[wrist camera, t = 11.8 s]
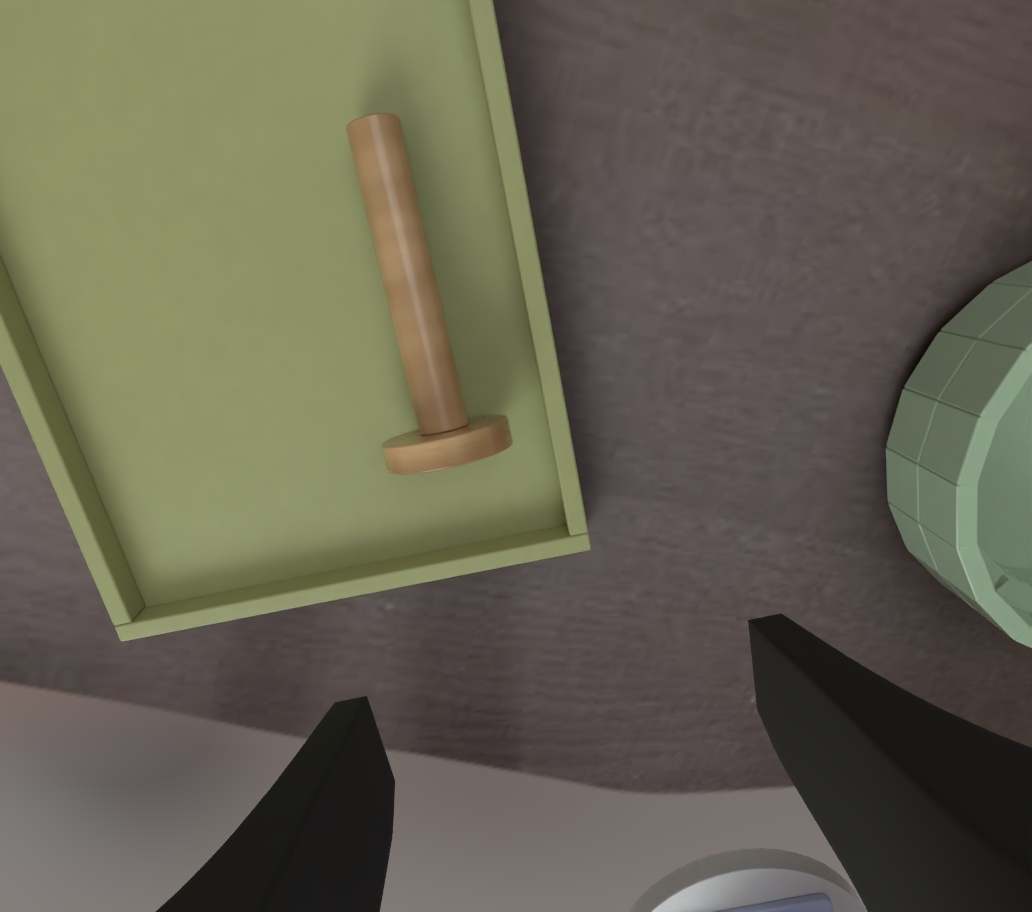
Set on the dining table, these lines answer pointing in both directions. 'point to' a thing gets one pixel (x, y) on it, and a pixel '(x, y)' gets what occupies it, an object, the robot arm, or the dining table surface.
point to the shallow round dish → (972, 456)
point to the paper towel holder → (416, 311)
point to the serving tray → (266, 299)
